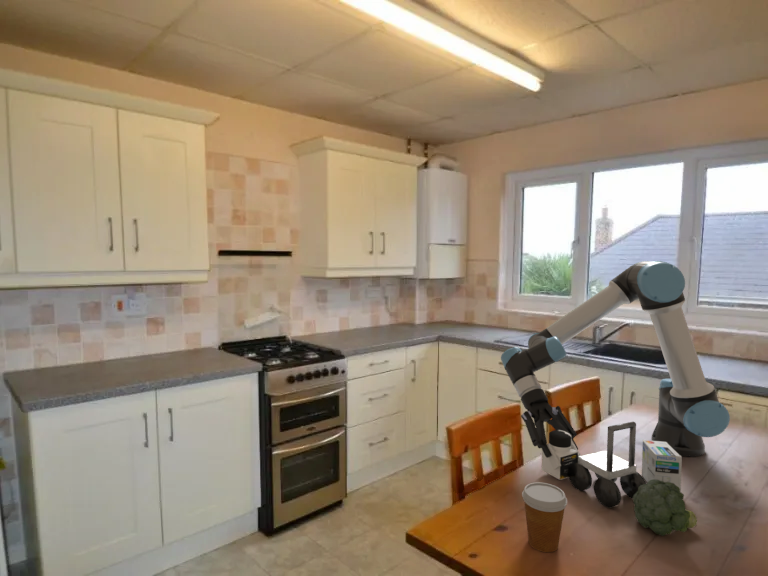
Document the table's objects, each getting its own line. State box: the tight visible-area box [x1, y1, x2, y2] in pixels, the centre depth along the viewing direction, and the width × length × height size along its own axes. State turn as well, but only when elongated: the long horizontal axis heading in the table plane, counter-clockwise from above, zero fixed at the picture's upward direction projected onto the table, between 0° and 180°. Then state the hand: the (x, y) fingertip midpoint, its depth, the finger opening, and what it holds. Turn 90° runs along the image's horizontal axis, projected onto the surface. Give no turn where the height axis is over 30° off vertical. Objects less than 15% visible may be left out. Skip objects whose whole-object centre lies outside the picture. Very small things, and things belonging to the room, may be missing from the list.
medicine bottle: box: [541, 429, 579, 481], centre depth 133 cm, size 7×7×12 cm
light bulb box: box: [641, 439, 683, 493], centre depth 128 cm, size 11×7×11 cm, turn 168°
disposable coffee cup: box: [521, 481, 568, 553], centre depth 102 cm, size 10×10×12 cm
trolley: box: [568, 421, 647, 509], centre depth 123 cm, size 11×16×21 cm
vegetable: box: [632, 479, 698, 536], centre depth 108 cm, size 12×13×15 cm
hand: (568, 465), depth 130 cm, fingers closed on medicine bottle, 7 cm apart
